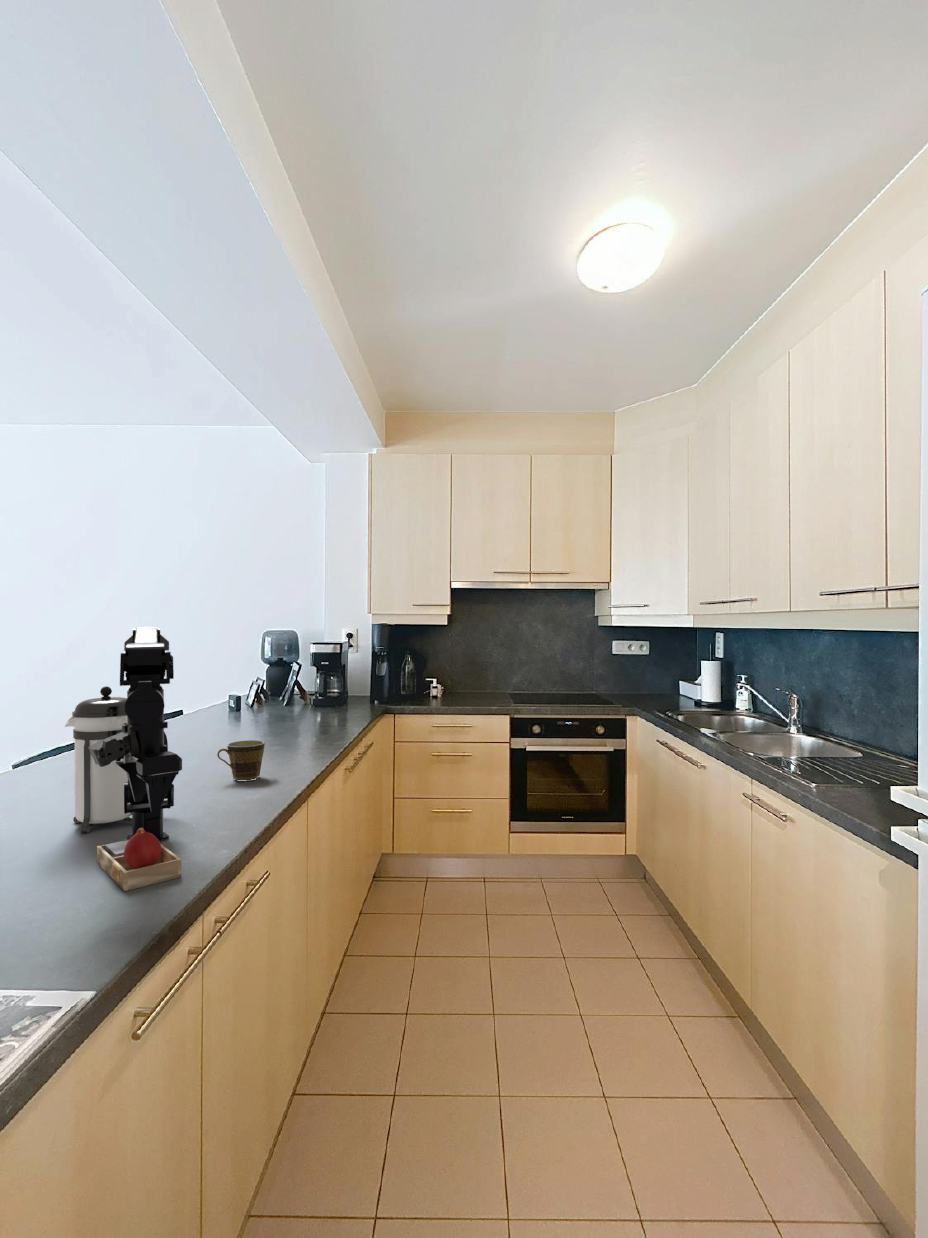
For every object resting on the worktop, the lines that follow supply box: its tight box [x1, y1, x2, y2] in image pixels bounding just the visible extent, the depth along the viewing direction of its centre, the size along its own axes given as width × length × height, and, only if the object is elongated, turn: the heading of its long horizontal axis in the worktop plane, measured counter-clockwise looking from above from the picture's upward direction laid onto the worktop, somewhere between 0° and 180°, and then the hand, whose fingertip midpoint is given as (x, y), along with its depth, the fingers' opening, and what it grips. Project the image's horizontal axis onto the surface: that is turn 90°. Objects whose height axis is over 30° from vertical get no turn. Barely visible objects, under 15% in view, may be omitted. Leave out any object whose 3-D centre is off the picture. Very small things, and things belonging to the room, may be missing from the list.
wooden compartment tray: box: [96, 839, 182, 892], centre depth 116 cm, size 18×9×3 cm, turn 42°
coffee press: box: [64, 686, 169, 834], centre depth 145 cm, size 17×16×30 cm
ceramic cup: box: [216, 739, 265, 780], centre depth 183 cm, size 13×10×10 cm
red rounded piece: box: [124, 828, 162, 869], centre depth 113 cm, size 6×6×8 cm
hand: (146, 807), depth 114 cm, fingers open, 9 cm apart
